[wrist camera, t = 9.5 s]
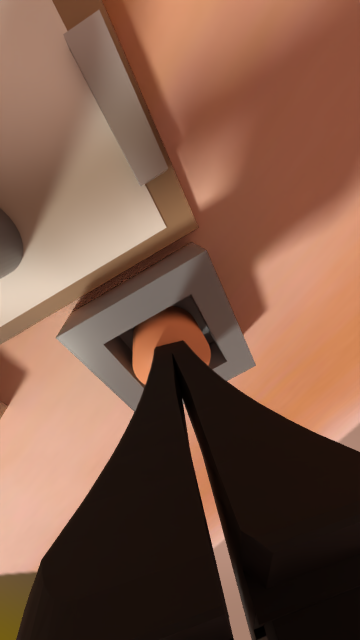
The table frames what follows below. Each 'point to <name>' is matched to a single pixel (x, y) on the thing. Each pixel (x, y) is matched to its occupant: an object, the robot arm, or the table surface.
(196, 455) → the table surface
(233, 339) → the grey egg holder
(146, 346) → the button
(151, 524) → the robot arm
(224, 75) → the table surface
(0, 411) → the electrical outlet
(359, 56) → the table surface
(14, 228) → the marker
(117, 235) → the clipboard
